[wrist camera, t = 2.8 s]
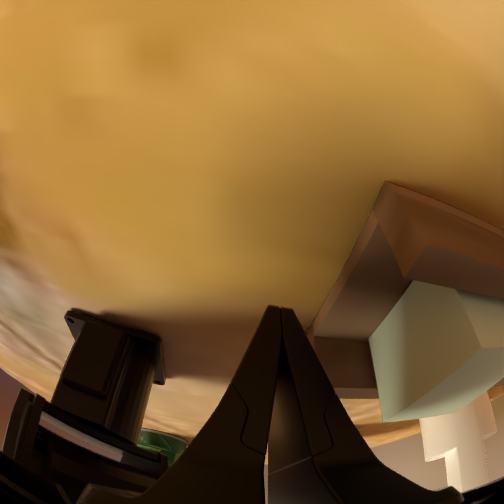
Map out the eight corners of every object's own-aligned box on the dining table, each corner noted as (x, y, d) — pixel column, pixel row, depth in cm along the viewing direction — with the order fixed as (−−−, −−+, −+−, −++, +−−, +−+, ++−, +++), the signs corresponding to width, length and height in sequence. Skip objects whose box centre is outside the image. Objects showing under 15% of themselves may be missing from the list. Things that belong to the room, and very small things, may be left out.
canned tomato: (156, 427, 31) (141, 501, 22) (198, 444, 34) (189, 509, 26) (126, 427, 34) (111, 489, 26) (165, 443, 38) (155, 501, 29)
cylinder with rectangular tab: (476, 401, 25) (491, 478, 15) (416, 424, 27) (425, 504, 18) (493, 375, 20) (515, 472, 10) (420, 405, 22) (433, 508, 13)
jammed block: (435, 343, 13) (454, 412, 10) (368, 338, 13) (382, 422, 10) (498, 269, 10) (538, 345, 6) (433, 249, 9) (481, 347, 6)
